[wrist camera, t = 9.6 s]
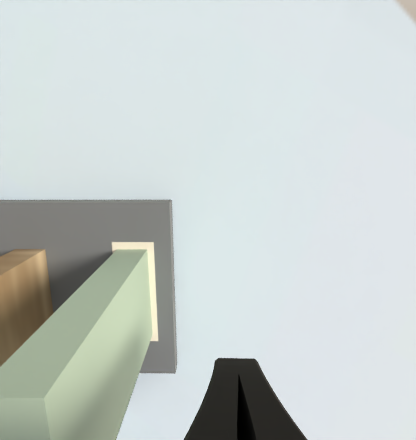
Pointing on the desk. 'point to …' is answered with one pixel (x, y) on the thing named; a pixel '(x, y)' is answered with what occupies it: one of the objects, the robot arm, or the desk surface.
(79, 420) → the green domino
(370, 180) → the desk surface
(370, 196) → the desk surface
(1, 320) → the domino
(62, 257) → the board
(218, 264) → the desk surface
